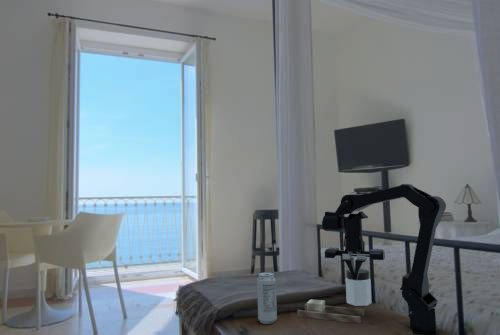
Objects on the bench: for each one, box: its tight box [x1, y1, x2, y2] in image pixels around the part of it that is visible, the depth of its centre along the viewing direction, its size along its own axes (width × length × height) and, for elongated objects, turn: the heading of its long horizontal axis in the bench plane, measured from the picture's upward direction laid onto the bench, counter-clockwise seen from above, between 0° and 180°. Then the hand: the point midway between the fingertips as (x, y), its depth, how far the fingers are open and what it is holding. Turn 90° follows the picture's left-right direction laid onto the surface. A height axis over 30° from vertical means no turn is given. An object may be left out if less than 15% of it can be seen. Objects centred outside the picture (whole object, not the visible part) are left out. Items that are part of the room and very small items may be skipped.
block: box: [306, 299, 327, 313], centre depth 128 cm, size 5×5×4 cm
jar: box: [345, 268, 372, 307], centre depth 141 cm, size 9×8×12 cm
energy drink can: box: [256, 272, 278, 325], centre depth 124 cm, size 6×6×15 cm
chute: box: [296, 303, 365, 324], centre depth 126 cm, size 20×9×2 cm, turn 65°
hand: (355, 280), depth 126 cm, fingers closed
